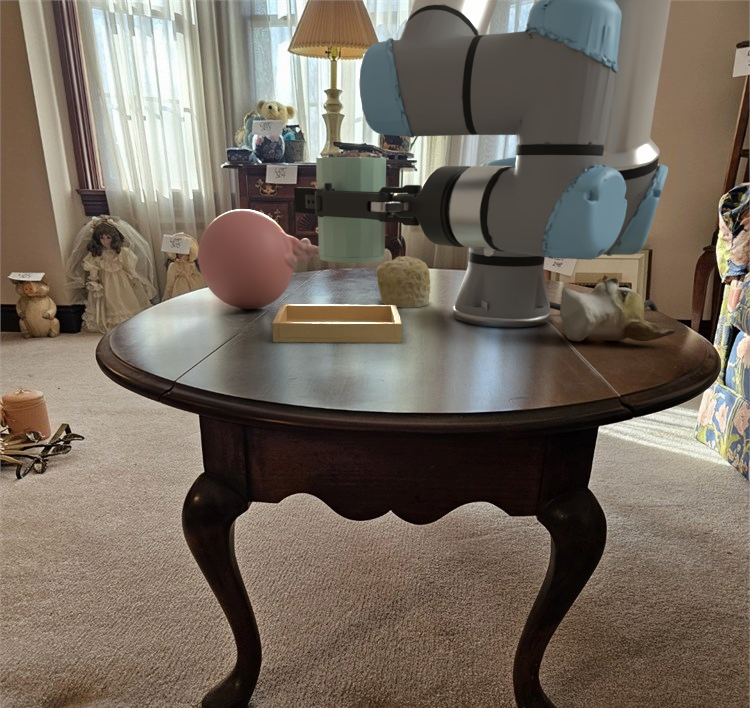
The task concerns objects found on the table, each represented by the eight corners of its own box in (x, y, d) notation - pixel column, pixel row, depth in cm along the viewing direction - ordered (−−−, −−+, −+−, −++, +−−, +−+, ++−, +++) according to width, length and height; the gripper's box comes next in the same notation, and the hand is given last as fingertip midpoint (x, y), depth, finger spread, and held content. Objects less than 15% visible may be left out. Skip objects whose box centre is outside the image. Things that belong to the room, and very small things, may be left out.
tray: (395, 322, 102) (396, 305, 101) (401, 342, 90) (401, 323, 89) (282, 321, 102) (281, 304, 100) (273, 342, 89) (272, 323, 88)
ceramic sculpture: (551, 269, 92) (650, 275, 94) (540, 330, 96) (635, 335, 98) (581, 281, 83) (690, 288, 85) (567, 349, 87) (671, 354, 89)
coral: (437, 306, 114) (439, 260, 110) (386, 308, 111) (387, 261, 108) (419, 297, 122) (421, 254, 118) (371, 299, 119) (372, 255, 116)
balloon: (314, 319, 103) (311, 213, 96) (190, 316, 104) (178, 211, 97) (328, 302, 117) (327, 208, 110) (219, 299, 118) (210, 206, 111)
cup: (391, 256, 83) (393, 158, 78) (372, 264, 76) (373, 157, 71) (332, 253, 85) (330, 158, 80) (308, 260, 78) (305, 157, 73)
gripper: (394, 255, 61) (256, 236, 76) (525, 241, 74) (386, 227, 89) (396, 164, 58) (251, 163, 72) (533, 167, 71) (387, 165, 85)
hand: (325, 199), depth 80 cm, fingers closed on cup, 8 cm apart
